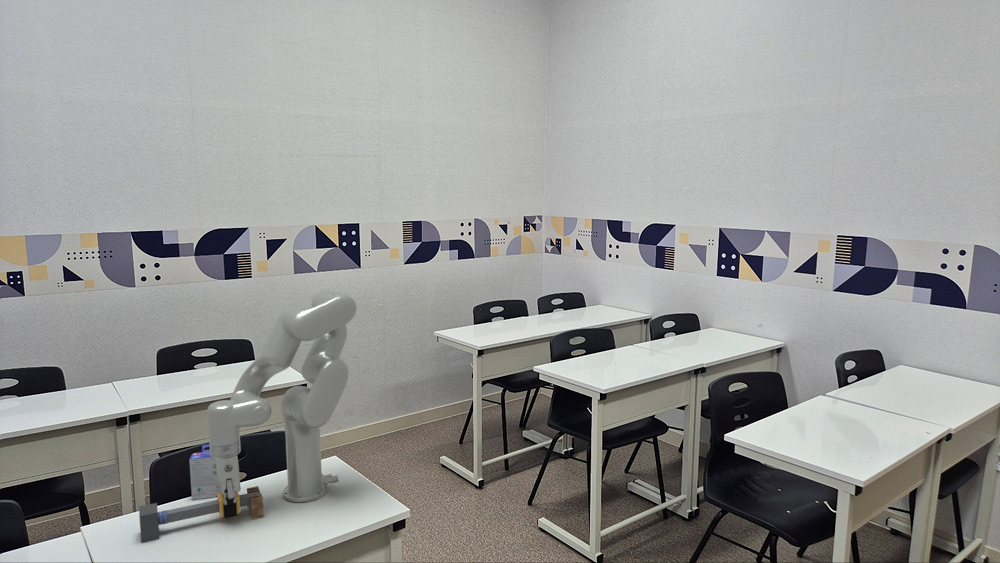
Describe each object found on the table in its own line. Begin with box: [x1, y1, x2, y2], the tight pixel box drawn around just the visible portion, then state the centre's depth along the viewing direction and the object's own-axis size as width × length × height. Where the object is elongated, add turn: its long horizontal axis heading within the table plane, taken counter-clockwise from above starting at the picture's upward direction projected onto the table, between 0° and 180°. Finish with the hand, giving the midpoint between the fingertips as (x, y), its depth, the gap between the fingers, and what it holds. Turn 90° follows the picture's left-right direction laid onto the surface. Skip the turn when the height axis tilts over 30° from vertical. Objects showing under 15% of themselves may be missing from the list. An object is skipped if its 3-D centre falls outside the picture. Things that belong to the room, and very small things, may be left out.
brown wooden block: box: [246, 485, 265, 520], centre depth 178 cm, size 3×8×6 cm, turn 29°
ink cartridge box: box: [188, 444, 221, 501], centre depth 188 cm, size 10×6×14 cm, turn 107°
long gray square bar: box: [158, 491, 262, 526], centre depth 172 cm, size 27×3×3 cm, turn 119°
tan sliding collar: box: [216, 490, 241, 518], centre depth 175 cm, size 5×5×4 cm
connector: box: [138, 502, 163, 544], centre depth 166 cm, size 5×6×7 cm
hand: (229, 512), depth 175 cm, fingers closed on tan sliding collar, 5 cm apart
